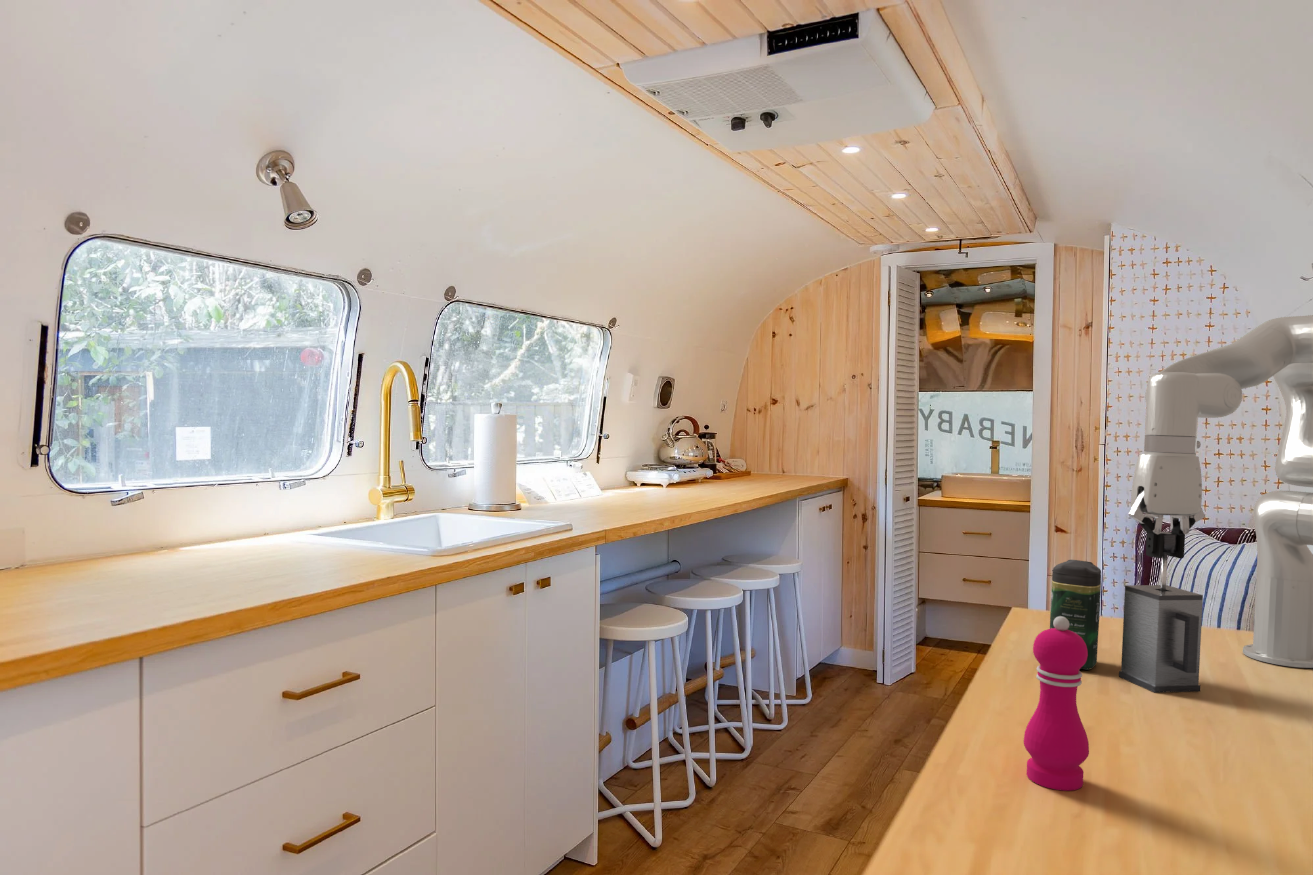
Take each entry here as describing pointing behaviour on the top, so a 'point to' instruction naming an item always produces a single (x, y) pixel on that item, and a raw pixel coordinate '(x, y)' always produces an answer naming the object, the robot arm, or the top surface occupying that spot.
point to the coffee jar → (1078, 602)
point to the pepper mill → (1057, 711)
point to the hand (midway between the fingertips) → (1164, 555)
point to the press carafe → (1161, 638)
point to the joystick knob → (1169, 547)
